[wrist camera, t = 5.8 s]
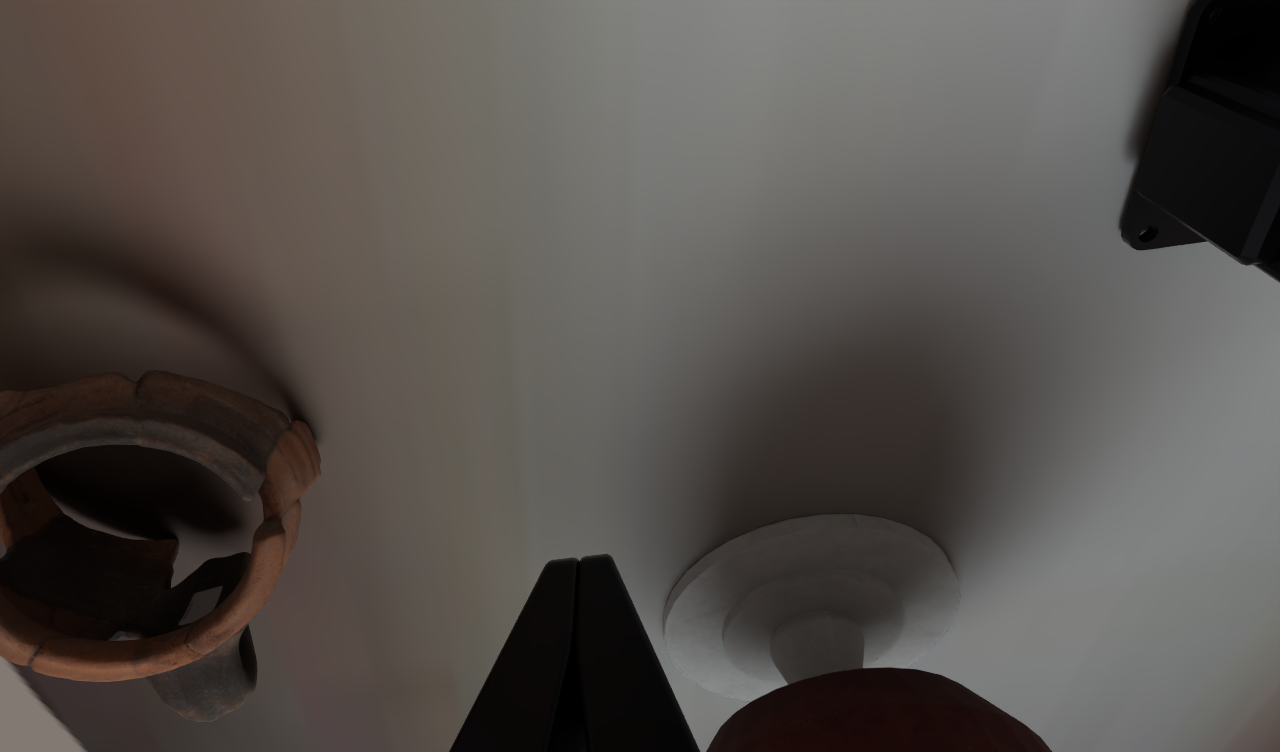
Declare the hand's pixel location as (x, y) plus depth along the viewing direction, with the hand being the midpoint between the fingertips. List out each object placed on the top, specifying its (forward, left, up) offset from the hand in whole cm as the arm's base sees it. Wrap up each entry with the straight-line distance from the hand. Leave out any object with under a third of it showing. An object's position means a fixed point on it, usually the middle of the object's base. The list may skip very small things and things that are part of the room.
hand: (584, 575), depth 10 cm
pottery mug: (+14, +8, -12) cm, 20 cm away
